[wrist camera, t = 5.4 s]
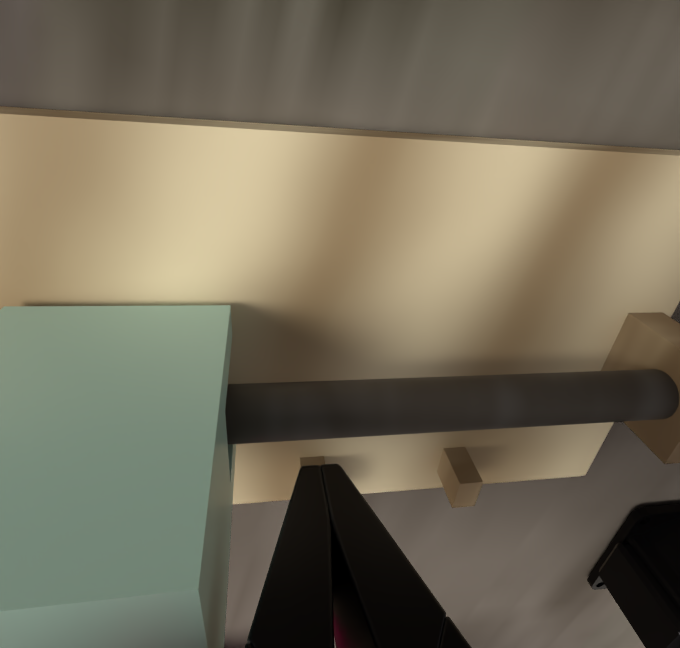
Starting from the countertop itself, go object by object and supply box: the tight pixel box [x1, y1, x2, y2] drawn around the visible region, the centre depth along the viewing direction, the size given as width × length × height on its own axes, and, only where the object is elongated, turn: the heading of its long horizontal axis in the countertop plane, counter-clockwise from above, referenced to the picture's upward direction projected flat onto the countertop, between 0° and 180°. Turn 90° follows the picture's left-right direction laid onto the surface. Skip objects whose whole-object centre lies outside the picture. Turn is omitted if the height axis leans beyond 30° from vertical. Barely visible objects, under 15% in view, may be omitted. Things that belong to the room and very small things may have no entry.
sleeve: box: [0, 305, 236, 648], centre depth 9 cm, size 5×4×7 cm
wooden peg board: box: [0, 106, 680, 508], centre depth 11 cm, size 22×12×5 cm, turn 85°
